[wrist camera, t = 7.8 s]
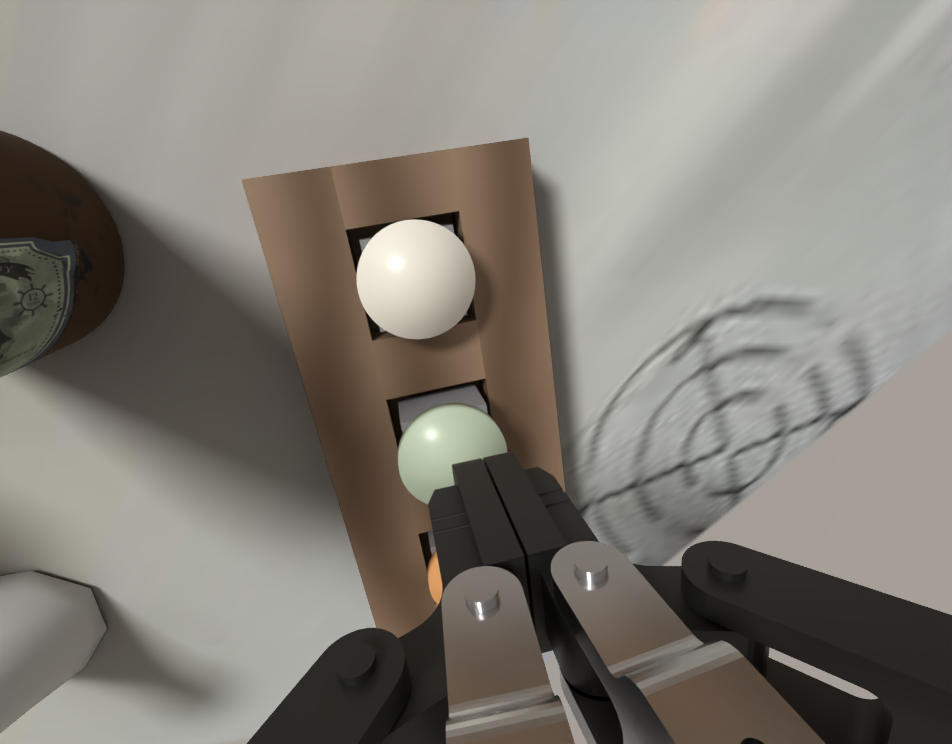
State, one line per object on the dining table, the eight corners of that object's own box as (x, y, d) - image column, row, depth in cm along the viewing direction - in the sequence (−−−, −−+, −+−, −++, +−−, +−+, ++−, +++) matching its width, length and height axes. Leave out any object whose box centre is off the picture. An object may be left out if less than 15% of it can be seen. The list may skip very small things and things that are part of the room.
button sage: (481, 372, 24) (499, 398, 21) (494, 455, 26) (513, 493, 23) (385, 392, 24) (387, 423, 20) (405, 477, 25) (410, 519, 22)
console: (510, 147, 23) (528, 137, 20) (558, 563, 32) (576, 596, 29) (259, 184, 22) (241, 179, 19) (383, 613, 30) (383, 653, 27)
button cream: (451, 211, 23) (465, 210, 19) (467, 311, 25) (483, 327, 21) (348, 228, 22) (343, 230, 19) (372, 330, 24) (371, 349, 20)
